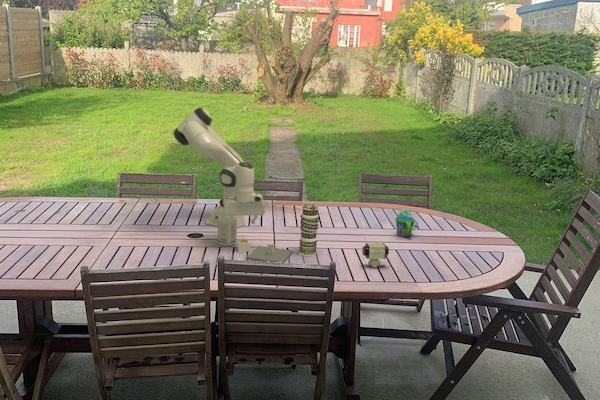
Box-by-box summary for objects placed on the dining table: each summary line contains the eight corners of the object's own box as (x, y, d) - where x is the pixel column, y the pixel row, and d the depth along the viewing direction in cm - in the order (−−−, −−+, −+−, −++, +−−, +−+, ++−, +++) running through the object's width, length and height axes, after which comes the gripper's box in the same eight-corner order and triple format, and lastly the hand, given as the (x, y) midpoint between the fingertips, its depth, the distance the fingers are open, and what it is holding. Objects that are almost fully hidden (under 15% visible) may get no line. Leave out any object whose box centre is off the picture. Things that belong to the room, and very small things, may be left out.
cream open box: (238, 252, 296) (238, 242, 295) (236, 247, 302) (236, 238, 301) (249, 251, 298) (250, 242, 296) (247, 247, 303) (247, 238, 302)
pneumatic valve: (360, 264, 289) (362, 240, 286) (384, 264, 291) (386, 240, 288) (363, 268, 284) (366, 244, 281) (387, 268, 286) (390, 244, 283)
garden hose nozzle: (412, 225, 346) (429, 215, 360) (386, 215, 356) (404, 206, 370) (410, 236, 348) (427, 226, 363) (385, 226, 359) (403, 216, 373)
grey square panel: (246, 259, 287) (247, 247, 285) (258, 247, 304) (258, 236, 302) (282, 264, 283) (283, 252, 281) (292, 252, 300) (293, 240, 298)
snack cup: (391, 231, 344) (393, 213, 342) (409, 231, 345) (411, 214, 342) (396, 239, 329) (398, 222, 327) (415, 240, 330) (417, 222, 327)
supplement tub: (232, 239, 314) (233, 212, 310) (239, 245, 306) (239, 217, 302) (214, 241, 310) (215, 213, 306) (220, 247, 301) (221, 219, 298)
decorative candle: (310, 258, 294) (314, 208, 287) (294, 253, 298) (297, 205, 292) (320, 253, 301) (323, 204, 295) (304, 249, 306) (307, 201, 300)
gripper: (224, 198, 287) (223, 226, 290) (266, 197, 292) (265, 225, 296) (222, 195, 293) (221, 222, 296) (263, 194, 298) (262, 221, 301)
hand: (243, 223), depth 296 cm, fingers open, 8 cm apart
